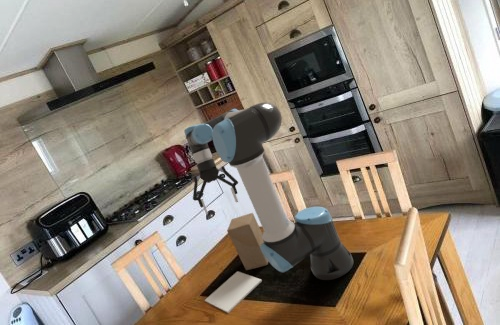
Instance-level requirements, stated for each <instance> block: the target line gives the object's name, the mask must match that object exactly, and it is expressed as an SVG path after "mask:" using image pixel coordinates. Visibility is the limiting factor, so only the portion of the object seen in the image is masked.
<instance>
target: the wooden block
mask: <svg viewBox="0 0 500 325" xmlns="http://www.w3.org/2000/svg"><path fill="white" fill-rule="evenodd" d="M226 232H227V235H228V236H229V238H230V240H231V242H232V244H233V246H234V248H235V250H236V252H237V255H238V257H239V259H240V261H241V262H242V265H243V267H244V269H245V271H250V270H253V269H257V268H261V267H265V266H267V265H269V261H268V260H267V259H266V257H265V256H264V255H263V253H262V251H261V249H260V246H261V244H262V243H264V241H263V239H262V233H263V231H262V230H261V228H260V225H259V224H258V221H257V218H256V217H255V215H254V213H253V212H251V213H247V214H245V215H240V216H238V217H235V218H232V219H231V220H230V223H229V225H228V227H227V230H226Z"/></svg>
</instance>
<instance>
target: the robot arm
mask: <svg viewBox="0 0 500 325" xmlns="http://www.w3.org/2000/svg"><path fill="white" fill-rule="evenodd" d="M282 121H283V120H282V113H281V110H280V109H279V108H278V107H277V106H276V105H275V104H273V103H271V102H267V101H266V102H259V103H256V104H254V105H251V106H249V107H247V108H245V109H240V110H239V109H237V108H232V109H230V110H227V111H226V112H224V113H222V114H220V115H218V116H217V117H214V118H212V119H210V120H208V121H205V122H203V123H200V124H193V125H191V126H187V127H186V128H185V129H184V131H183V132H184V136H185V139H186V141H187V143H188V146H189V148H190V151H191V153H192V156H193V158H194V159H193V160H194V162H195V164H196V168H197V170H198V173H199V175H197V176H193V182H194V183H193V184H194V186H193V192H192V193H193V194H192V200H193V201H197V202H198V204H199V206H200V208H203V210H204V212H205V214H206V215H208V214H209V212H208V210H207V207H206V205H205V202H204V199H201V198H202V196H203V193H204V191H205V187H206V185H207V184H208V183H211V182H215V181H217V180H219V181H220V182H223V183H225V184H227V185H228V186H230V191H231V193H232V196H233V198H234V202H235V203H239V201H238V197H237V194H238V191H237V188H236V186H237V185H238V184H239V181H238V180H237V179H236V178H235V177H234V176H233V175H232V174H230V173H229V172H228V171H227V169H226V168H225V166H221V167H220V168H219V167H217V165H216V162H215V160H214V158H213V154H212V152H211V149H210V147H209V145H208V143H209V142H211V141H212V142H213V146H214V148H215V151H216V153H217V155H218V157H219V158H220V160H221V161H223V163H228V164H229V166H230V167H233V168H235V169H236V170H237V173H238V175H239V177H240V179H241V181H242V184H243V185H244V186H243V187H244V188H245V190H246V192H247V195H248V197H249V200H250V202H251V204H252V207H253V209H254V211H255V214H256V216H257V218H258V220H259V223H260V224H261V227H262V229H263V231H262V239H263V241H264V243H262V244H261V246H260V249H261V251H262V253H263V255H264V256H265V257H266V259H267V260H268V264H270V266H272V267H273V268H274V269H276V271H278V272H279V273H285V272H288V271H289V270H290V269H292V268H294V267H295V266H296V265H297V264H299V263H300V262H302V261H303V260H304V259H306V258H307V257H308V256H309V257H310V269H311V272H312V274H313V275H314V278H317V279H319V280H321V281H330V280H335V279H336V280H337V279H339V278H340V277H342V276H345V275H346V274H348V272H350V270H351V269H352V268H353V266H354V259H353V256H352V254H351V252H350V250H348V249H347V247H345V245H344V243H342V242H341V239H340V236H339V233H338V231H337V228H336V226H335V224H334V221H333V218H332V215H331V213H330V211H329V210H328V209H327V208H325V207H323V206H310V207H306V208H303V209H301V210H299V211H298V212H297V213H296V214H295V216H294V220H295V222H293V221H292V220H288V217H287V214H286V212H285V210H284V207H283V205H282V202H281V200H280V198H279V195H278V193H277V190H276V188H275V185H274V183H273V180H272V178H271V175H270V174H269V171H268V168H267V166H266V163H265V161H264V159H263V156H264V154H265V152H266V151H265V148H264V146H263V144H264V143H266V142H267V141H270V140H271V139H272V138H273V137H275V136H276V134H277V133H278V132H279V131H280V128H281V126H282V123H283V122H282ZM219 173H223V174H224V175H225V176H226V177H227V178H229V180H230V181H229V180H227V179H225V178H224V177H222V176H220V175H219ZM200 179H201V180H202V181H203V182H202V185H201V187H200V190H199V192H197V191H198V183H199V181H200ZM231 181H232V182H231ZM197 193H198V195H197Z"/></svg>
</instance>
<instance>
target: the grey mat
mask: <svg viewBox="0 0 500 325" xmlns="http://www.w3.org/2000/svg"><path fill="white" fill-rule="evenodd" d="M262 281H263V280H262V279H261V278H258V277H255V276H253V275H249V274H248V273H247V274H246V273H244V272H241V271H236V272H235V273H233V275H231V276H230V277H229V278H228V279H227V280H225V281H224V282H223V283H222V284H220V286H219V287H218V288H217V289H215V290H214V291H213V292H212V293H211V294H210V295H209V296H208V297H206V299H204V302H206V303H207V304H209V305H211V306H213V307H216V308H217V309H220V310H221V311H223V312H225V313H227V314H229V313H230V312H231V311H232V310H234V309H235V307H236V306H238V305H239V304H240V302H242V301H243V300H244V299H245V298H246V297H247V296H248V295H249V294H251V292H252V291H253V290H255V289H256V288H257V286H259V284H261V283H262Z"/></svg>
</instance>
